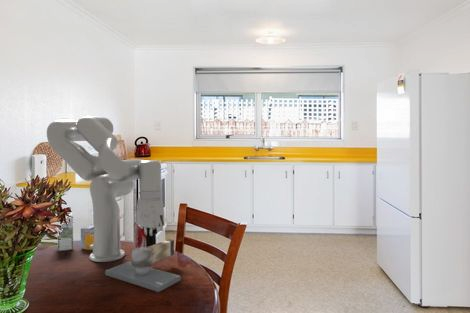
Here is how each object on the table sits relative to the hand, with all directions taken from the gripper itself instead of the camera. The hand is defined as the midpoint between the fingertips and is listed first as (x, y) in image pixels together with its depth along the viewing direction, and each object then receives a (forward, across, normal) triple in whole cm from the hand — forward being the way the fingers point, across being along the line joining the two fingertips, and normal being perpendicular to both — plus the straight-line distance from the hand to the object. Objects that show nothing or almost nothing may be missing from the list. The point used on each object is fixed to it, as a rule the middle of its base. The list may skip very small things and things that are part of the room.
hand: (151, 245), depth 126 cm
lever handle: (+3, +6, -5) cm, 8 cm away
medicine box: (+7, -36, +2) cm, 37 cm away
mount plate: (+7, +6, -10) cm, 14 cm away
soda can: (+7, -14, +10) cm, 19 cm away
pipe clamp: (+7, -30, +2) cm, 31 cm away
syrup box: (+7, -42, -6) cm, 43 cm away
